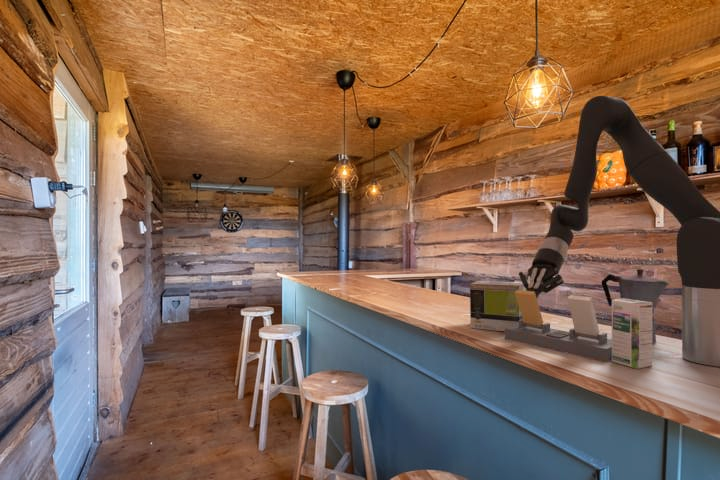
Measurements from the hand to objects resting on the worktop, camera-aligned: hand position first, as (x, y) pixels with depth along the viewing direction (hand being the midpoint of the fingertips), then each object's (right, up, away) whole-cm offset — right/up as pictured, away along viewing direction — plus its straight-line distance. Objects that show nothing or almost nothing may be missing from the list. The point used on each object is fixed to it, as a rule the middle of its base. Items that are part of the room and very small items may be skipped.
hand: (529, 301), depth 104 cm
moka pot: (+30, -11, +1) cm, 32 cm away
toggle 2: (+10, -7, -10) cm, 16 cm away
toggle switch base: (+6, -11, -4) cm, 13 cm away
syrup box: (+15, -11, -19) cm, 27 cm away
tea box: (-3, -12, +16) cm, 20 cm away
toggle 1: (+2, -7, +1) cm, 7 cm away
